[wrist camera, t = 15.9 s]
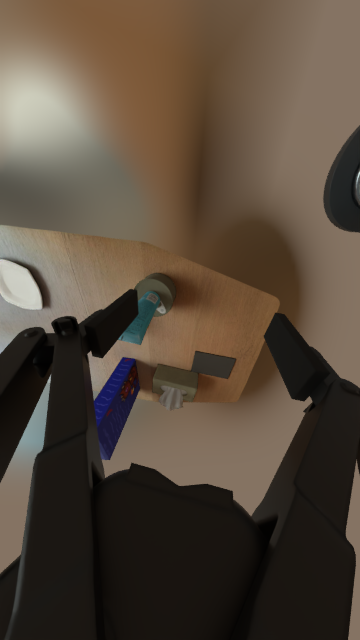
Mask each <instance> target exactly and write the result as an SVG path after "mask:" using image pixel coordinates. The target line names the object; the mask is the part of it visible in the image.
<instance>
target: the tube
mask: <svg viewBox="0 0 360 640" xmlns="http://www.w3.org/2000/svg"><path fill="white" fill-rule="evenodd" d="M159 303H160V297H159V295H158V294H157V293H155V292H153V291H149V292H147V293H146V294H145V295H144V296H143V297H142V298H141V299H140V300H139V301H138V311H139V314H138V316H137V317H136V318H135V319H134V320H133V322H132V323H131V324H130V325H129V327H128V328H127V329H126V330H125V331H124V333H123V334H122V335H121V336H120V337H119V339H118V340H122V341H126V342H130V343H135V344H139V345H141V343H142V340H143V338H144V335H145V333H146V330H147V328H148V326H149V323H150V321H151V319H152V317H153V315H154V313H155V311H156V309H157V307H158V305H159Z"/></svg>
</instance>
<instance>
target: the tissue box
mask: <svg viewBox="0 0 360 640" xmlns="http://www.w3.org/2000/svg"><path fill="white" fill-rule="evenodd" d="M197 386H198V373H195V372H191V371H186V370H182V369H178V368H173V367H169V366H165V365H161V364H158V367H157V369H156V372H155V374H154V377H153V386H152V392H153V393H157V394H161V395H162V396H161V397H160V399H159V402H160V403H161V404H162V405H163V406H165V407H166V409H167V410H173V409H179V408H181V407H183V406H182V405H183V400H185V401H189V402H193V399H194V397H195V394H196V391H197Z"/></svg>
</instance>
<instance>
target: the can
mask: <svg viewBox="0 0 360 640" xmlns="http://www.w3.org/2000/svg"><path fill="white" fill-rule="evenodd" d="M134 290H137V292H138V301H139V300H140V299H141V298H142V297H143V296H144V295H145V294H146V293H147V292H149V291H153V292H155V293H157V294H158V295H159V297H160V303H159V305H158V307H157V309H156V311H155V313H154V315H153V316H154V317H158V316H163V315H165V314H166V313H168V312H169V311H170V309H171V307H172V304H173V301H174V299H175V297H176V287H175V284H174V283H173V281H172V280H171V279H170V278H169V277H168V276H166V275H164V274H161V273H153V274H150V275H149V276H147V277H146V278H145V279H144V280H142V281H140V282H139V283H138V284H137V285H136V286H135V288H134Z"/></svg>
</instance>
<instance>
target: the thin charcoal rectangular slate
mask: <svg viewBox="0 0 360 640" xmlns="http://www.w3.org/2000/svg"><path fill="white" fill-rule="evenodd" d="M235 360H236V359H234V358H229V357H224V356H219V355H214V354H209V353H204V352H198V351H195V356H194V360H193V365H192V369H191V371H192V372H196V373H201V374H206V375H211V376H216V377H221V378H226V379H228V377H229V374H230V372H231V370H232V367H233V365H234V363H235Z"/></svg>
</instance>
